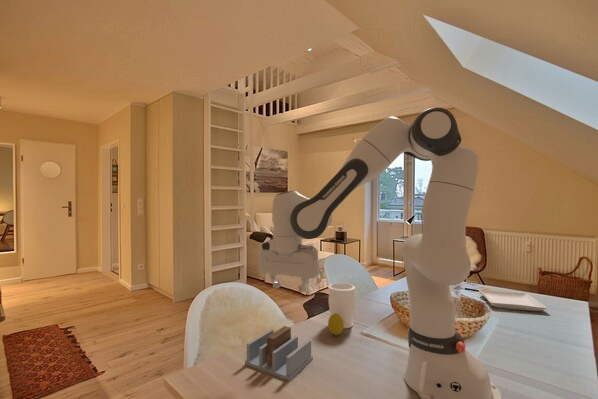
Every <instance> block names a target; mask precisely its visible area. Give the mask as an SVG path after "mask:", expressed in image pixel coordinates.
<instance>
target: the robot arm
mask: <svg viewBox="0 0 598 399" xmlns="http://www.w3.org/2000/svg"><path fill="white" fill-rule="evenodd" d="M458 126H459V125H458V123H457V120H456V117H455V116H454V115H453V114H452V112H451V111H449V110H448V109H446V108H443V107H431V108H428V109H426V110H425V109H424V111H422V112H421V113H419V114H418V115H417V116H416V118H414V120H413V122H412V123H407V122H405V121H404V120H402V119H401V118H398V117H396V116H388V117H385V118H383V120H381V121H380V122H379V123H377V124H376V125H375V126H374V127H372V128H371V129H370V130H369V131H368V132H367V133H366V134H365V135H364V136H363V137H362V138H361V139H360V141H359V142H358V143H356V145H355V146H354V148H353V149H352V150H351V152H350V154H348V156H347V158H346V160H344V163H343V164H342V166H341V168H340V169H339V170H338V171H337V173H336V174H334V176H333V177H332V178H331V179H330V180H329V181H328V182H327V183H326V184H325V185H324V186H323V188H321V189H320V191H319V192H318V193H317V194H315V195H314V196H312V198H309V197H306V196H305V195H302V194H301V193H300V192H298V190H297V191H296V190H290V191H283V192H280V193H278V194H276V195H275V196H274V197H273V200H272V207H271V209H272V210H271V216H272V220H271V221H272V224H273V232H272V239H269V240H266V241H264V242H261V243H259V249H260V252H259V258H258V261H259V262H258V267H259V270H260V272H261V273H265V274H269V279H270V280H271V282H272V288H275V289H279V288H280V287H281V285H280V284H281V281H279V280H278V277H277V275H280V276H289V277H295V278H300V279H301V280H300V281H302V282H301V284H299V285H298V286H297V287H298V292H301V293H304V292H306V287H307V286H306V285H307V284H308V282H309V280H310V279H315V278H317V277H318V276H319V275H320V271H321V270H320V264H319V251H318V250H317V248H316V247H314V246H313V245H303V243H302V242H303V241H302V240H303V239H305V240H312V239H317V238H318V237H320V236H321V235H322V234H323V233H324V232H325V230H326V229H328V228H329V226H330V225H331V223H332V219H333V213H334V212H335V210H336V209H337V208H338V207H339V206H340V204H341V203H343V202H344V200H345V199H347V197H349V195H350V194H352V193H353V191H355V190H356V189H358V188H360V186H362V185H364V184H366V183H369V182H371V181H373V180H374V179H376V178H378V177H379V176H380V175H381V174H382V173H383V172H385V171H386V170H387V169H388V168H389V167H390V166H391V165H392V164H393V163H394V161H395V160H396V159H397V158H398V157H399V156H401V155H402V154H404V155H406V156H410V157H412V158H414V159H417V160H419V161H424V162H429V161H430V162H431V166H432V168H431V173H430V177H429V180H428V181H429V182H428V184H427V188H426V192H425V195H424V198H423V202H422V206H421V214H422V232H421V233H416V234H413V235H410V236H408V237H406V239H404V241H403V242H402V244H401V248H400V250H401V251H400V252H401V256H402V259H403V264H404V271H405V278H406V284H407V287H408V288H407V289H408V297H409V326H408V330H407V343H408V348H409V350H408V359H407V364H406V369H405V372H404V374H403V378H404V381H405V383H406V384H407V385H408V386H409V387H410V389H412V390H413V391H414V392H416V393H417V394H418V396H419V397H420V399H502V398H503V397H502V393H501V391H500V389H499V388H498V385H496V384H495V383H494V382H492V381H491V379H490V375H489V372H488V370H487V368H486V366H485V365H484V363H483V362H481V361H480V360H479V359H478V358H476V357H475V356H474V355H473V354H472V353H471V352H469V351H468V350H467V349H466V343H465V338H464V334H463V333H461V334H460V333H458V332H457V331H456V304H455V301H454V297H453V295H452V293H451V289H450V286H457V285H460V284H462V283H463V282H464V281H465V280H466V279H467V278H468V277H469V275H470V272H471V270H472V263H471V259H470V256H469V254H468V250H467V239H466V238H467V237H466V235H467V232H466V230H467V229H466V228H467V220H468V216H469V210H470V207H471V203H472V198H473V195H474V193H475V189H476V188H475V187H476V183H477V179H478V169H479V168H478V167H479V157H478V156H479V155H477V152H476V151H474V150H472V148H469V147H467V146H465V145H464V146H463V145H460V144H461V143H462V137H461V134H460V130H459V127H458Z"/></svg>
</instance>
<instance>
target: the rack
mask: <svg viewBox="0 0 598 399" xmlns="http://www.w3.org/2000/svg"><path fill="white" fill-rule="evenodd" d="M274 332H275V331H274V329H272V328H271V329H269V330H267V331H266V332H264V333H262V334H261V335H259V336H258V337H255V338H254V339H252V340H250V341H249V342H248V343H246V360H245V361H244V365H245V366H247V367H248V366H249V367H251V368H253V369H256V370H259V371H262V372H264V373H267V374H269V375H272V376H274V377H277V378H280V379H282V380H285V381H287V382H290V381H291V380H292V379H293V378H294V377H296V375H298V374H299V373H300V372H301V371H302V370H303V369H304V368H305V367H306V366H307V365H309V364H310V363H311V362H312V361H313V360H314V356H313V355H312V339H307V340H306V341H304V342H303V343H302V344H301V345H300V346H299V336H298V335H297V336H296V335H295V336H293V337H291V339H290V340H289V341H287V342H286V343H285V344H283V345H282V346H280V347H279V348H277V349H276V350H275V351H273V352H272V366H270V365H267V337H268V336H269V335H271V334H273V333H274ZM308 363H309V364H308Z"/></svg>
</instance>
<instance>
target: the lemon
mask: <svg viewBox="0 0 598 399" xmlns="http://www.w3.org/2000/svg"><path fill="white" fill-rule="evenodd" d="M327 326H328V330H329V332H330V333H331V334H332V335H334V336H338V335H340V334H341V333H342V331H343V330H344V329H343V326H344V325H343V320H342V317H341V316H340V315H338V314H336V313H335V314H333V315H330V316H329V318H328V321H327Z"/></svg>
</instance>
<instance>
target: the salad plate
mask: <svg viewBox="0 0 598 399" xmlns="http://www.w3.org/2000/svg"><path fill="white" fill-rule="evenodd" d="M478 293H479V294H480V295H482V297H484V299H486V300H487V301H488V302H489V304H490V305H491V306H493V307H496V308H498V309H504V310H505V309H507V310H515V311H516V310H517V311H525V312H526V311H527V312H528V311H529V312H541V311H544V310H546V309H547V306H546V305H544V304H543V303H541V302H540V301H538V300H537V299H536V298H534V297H532V296H531V295H530V294H528V293H524V292H516V291H515V292H513V291H503V290H502V291H501V290H491V289H490V290H487V289H478Z"/></svg>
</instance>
